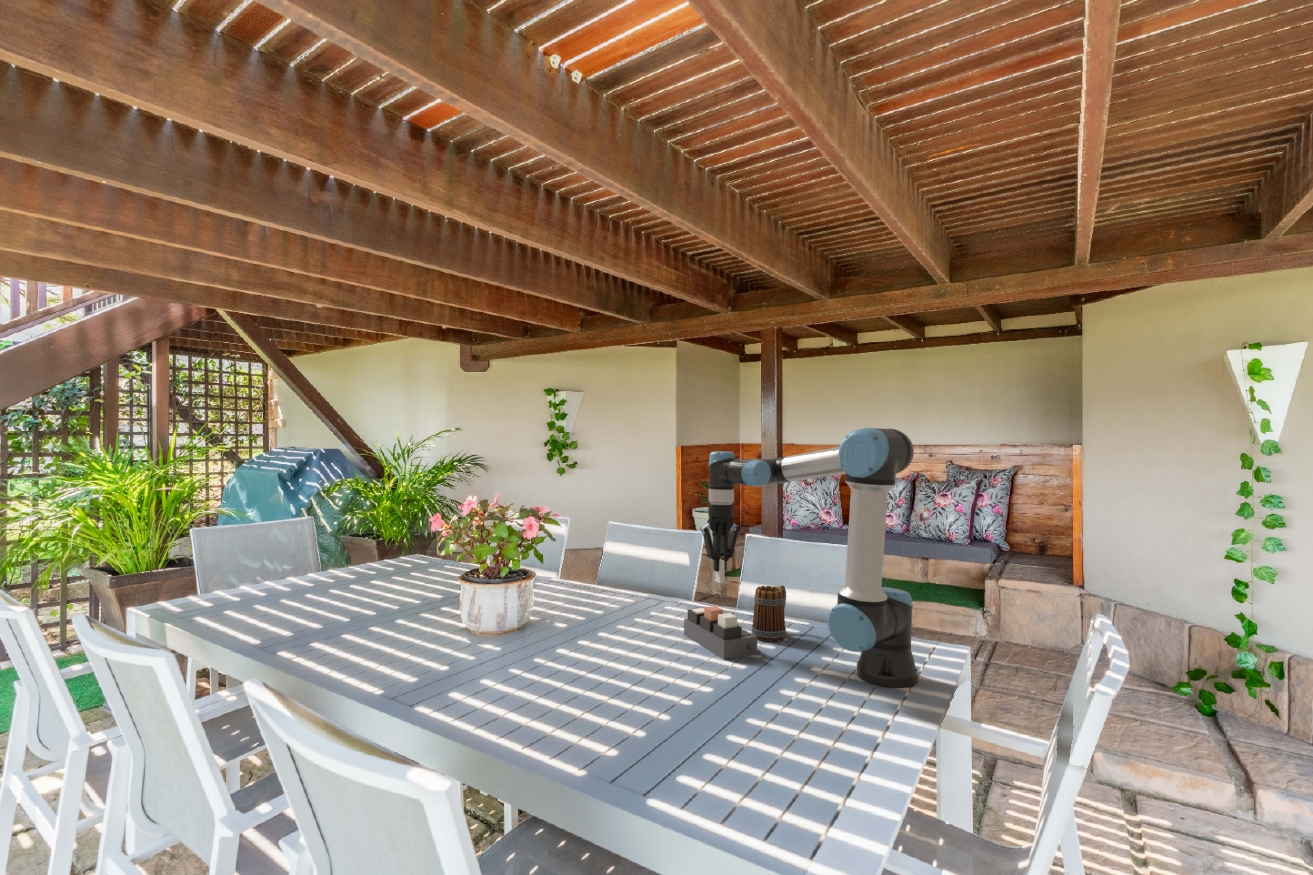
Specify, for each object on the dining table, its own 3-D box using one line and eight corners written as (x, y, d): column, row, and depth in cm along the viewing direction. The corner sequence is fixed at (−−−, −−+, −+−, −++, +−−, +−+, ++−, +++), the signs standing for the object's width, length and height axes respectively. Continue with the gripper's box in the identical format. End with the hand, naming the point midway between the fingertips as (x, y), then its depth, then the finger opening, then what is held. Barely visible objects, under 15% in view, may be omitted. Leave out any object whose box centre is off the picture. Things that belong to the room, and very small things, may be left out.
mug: (776, 644, 195) (777, 594, 195) (745, 637, 201) (745, 589, 201) (798, 632, 207) (799, 585, 207) (768, 626, 214) (769, 580, 214)
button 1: (737, 627, 186) (737, 616, 186) (725, 628, 184) (725, 618, 184) (729, 623, 190) (729, 613, 189) (717, 624, 188) (718, 614, 188)
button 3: (709, 620, 200) (709, 611, 200) (697, 622, 199) (697, 612, 199) (702, 617, 204) (702, 607, 204) (691, 618, 202) (691, 609, 202)
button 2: (722, 619, 193) (722, 609, 193) (710, 621, 191) (711, 610, 191) (715, 616, 197) (715, 606, 197) (704, 617, 195) (704, 607, 195)
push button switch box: (768, 660, 182) (768, 631, 181) (734, 665, 177) (734, 636, 177) (714, 630, 208) (714, 605, 208) (683, 634, 204) (684, 609, 203)
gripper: (733, 501, 201) (731, 577, 201) (695, 502, 195) (694, 581, 195) (746, 503, 194) (745, 582, 194) (708, 505, 188) (706, 586, 189)
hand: (719, 581), depth 195 cm, fingers closed
